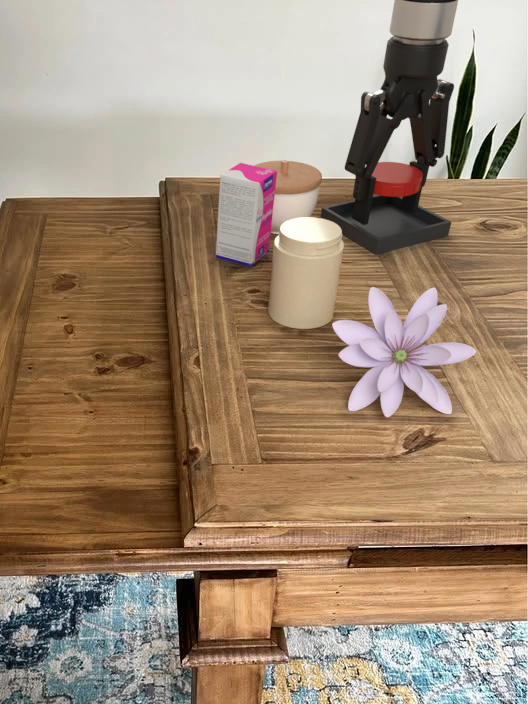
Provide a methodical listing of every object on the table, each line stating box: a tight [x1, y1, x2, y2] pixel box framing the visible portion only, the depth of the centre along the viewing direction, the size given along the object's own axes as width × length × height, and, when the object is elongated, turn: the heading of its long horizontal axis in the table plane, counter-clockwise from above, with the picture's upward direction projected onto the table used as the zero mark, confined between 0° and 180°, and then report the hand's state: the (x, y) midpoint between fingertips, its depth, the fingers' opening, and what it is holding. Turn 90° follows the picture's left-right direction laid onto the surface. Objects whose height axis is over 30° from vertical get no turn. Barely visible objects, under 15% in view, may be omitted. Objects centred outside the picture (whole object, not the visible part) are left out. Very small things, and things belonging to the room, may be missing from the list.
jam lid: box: [365, 161, 423, 197], centre depth 104 cm, size 8×8×2 cm
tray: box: [320, 194, 452, 255], centre depth 108 cm, size 13×13×2 cm
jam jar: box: [267, 216, 345, 330], centre depth 87 cm, size 8×8×11 cm
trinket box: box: [253, 159, 323, 235], centre depth 106 cm, size 11×11×9 cm
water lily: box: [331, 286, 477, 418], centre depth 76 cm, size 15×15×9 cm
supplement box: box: [214, 162, 277, 268], centre depth 98 cm, size 6×6×12 cm
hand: (384, 215), depth 107 cm, fingers closed on jam lid, 8 cm apart
